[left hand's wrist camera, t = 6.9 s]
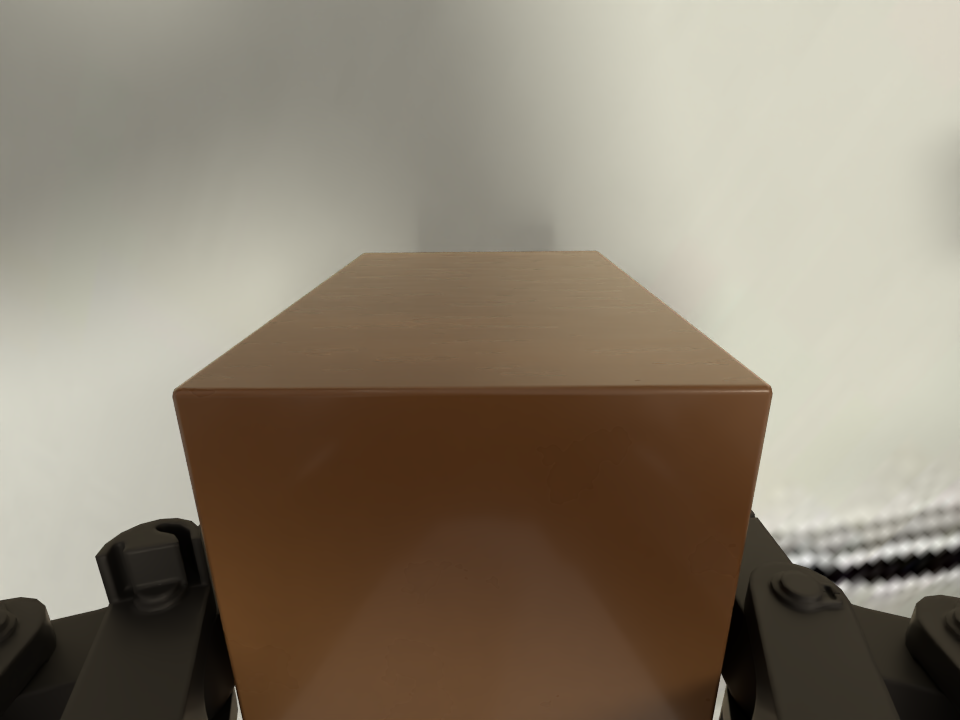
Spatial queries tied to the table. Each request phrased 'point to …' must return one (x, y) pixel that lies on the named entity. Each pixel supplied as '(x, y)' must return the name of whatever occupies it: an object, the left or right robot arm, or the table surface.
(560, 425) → the post
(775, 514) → the table surface
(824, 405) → the table surface
